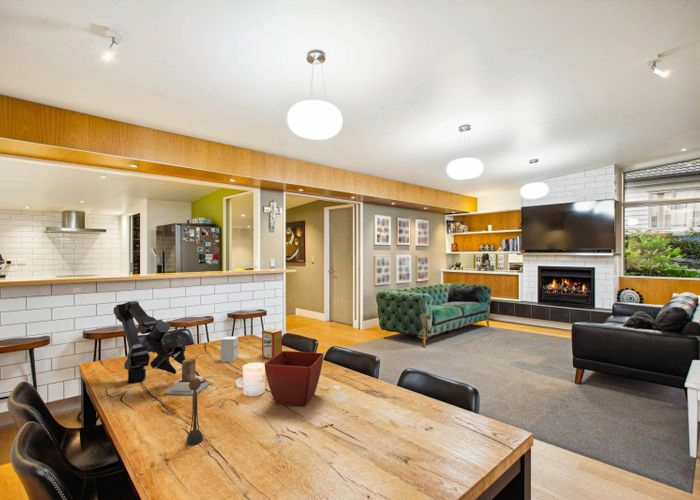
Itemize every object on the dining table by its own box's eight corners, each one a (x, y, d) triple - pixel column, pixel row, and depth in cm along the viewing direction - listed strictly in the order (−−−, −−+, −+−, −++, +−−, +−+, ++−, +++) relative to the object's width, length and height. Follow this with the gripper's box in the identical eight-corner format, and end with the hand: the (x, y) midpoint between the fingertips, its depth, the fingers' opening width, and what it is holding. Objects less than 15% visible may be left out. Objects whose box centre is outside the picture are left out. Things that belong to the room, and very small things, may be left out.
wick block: (181, 388, 152) (181, 361, 152) (186, 385, 156) (186, 358, 156) (190, 389, 152) (190, 361, 152) (195, 385, 156) (195, 358, 156)
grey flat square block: (163, 394, 148) (163, 385, 148) (182, 382, 162) (182, 373, 162) (195, 395, 146) (195, 386, 146) (211, 383, 160) (211, 374, 160)
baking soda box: (281, 357, 200) (281, 330, 200) (273, 360, 195) (273, 332, 195) (270, 355, 206) (270, 328, 206) (262, 357, 200) (262, 329, 201)
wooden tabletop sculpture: (200, 434, 115) (200, 373, 115) (208, 438, 112) (209, 376, 112) (183, 442, 110) (183, 378, 110) (191, 446, 107) (191, 381, 108)
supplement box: (233, 362, 192) (233, 339, 192) (220, 362, 192) (220, 339, 192) (238, 358, 199) (238, 336, 200) (225, 358, 200) (225, 336, 200)
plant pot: (310, 411, 131) (310, 367, 131) (263, 407, 135) (263, 363, 135) (324, 392, 150) (324, 353, 150) (282, 388, 154) (282, 350, 154)
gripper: (157, 336, 146) (182, 363, 145) (182, 327, 164) (204, 351, 163) (139, 354, 146) (164, 382, 145) (166, 343, 165) (188, 367, 164)
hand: (181, 369), depth 155 cm, fingers open, 9 cm apart
